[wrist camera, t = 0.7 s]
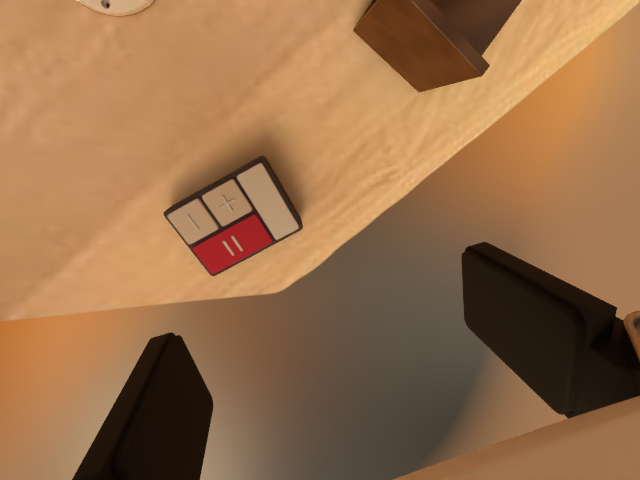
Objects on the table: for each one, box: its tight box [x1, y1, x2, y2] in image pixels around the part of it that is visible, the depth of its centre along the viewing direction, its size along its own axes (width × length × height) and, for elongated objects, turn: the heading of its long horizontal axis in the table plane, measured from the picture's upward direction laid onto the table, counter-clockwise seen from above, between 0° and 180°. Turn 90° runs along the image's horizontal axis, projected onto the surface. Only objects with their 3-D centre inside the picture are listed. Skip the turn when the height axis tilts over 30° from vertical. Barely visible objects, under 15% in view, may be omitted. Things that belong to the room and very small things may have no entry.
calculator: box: [164, 156, 303, 276], centre depth 41 cm, size 11×4×15 cm
